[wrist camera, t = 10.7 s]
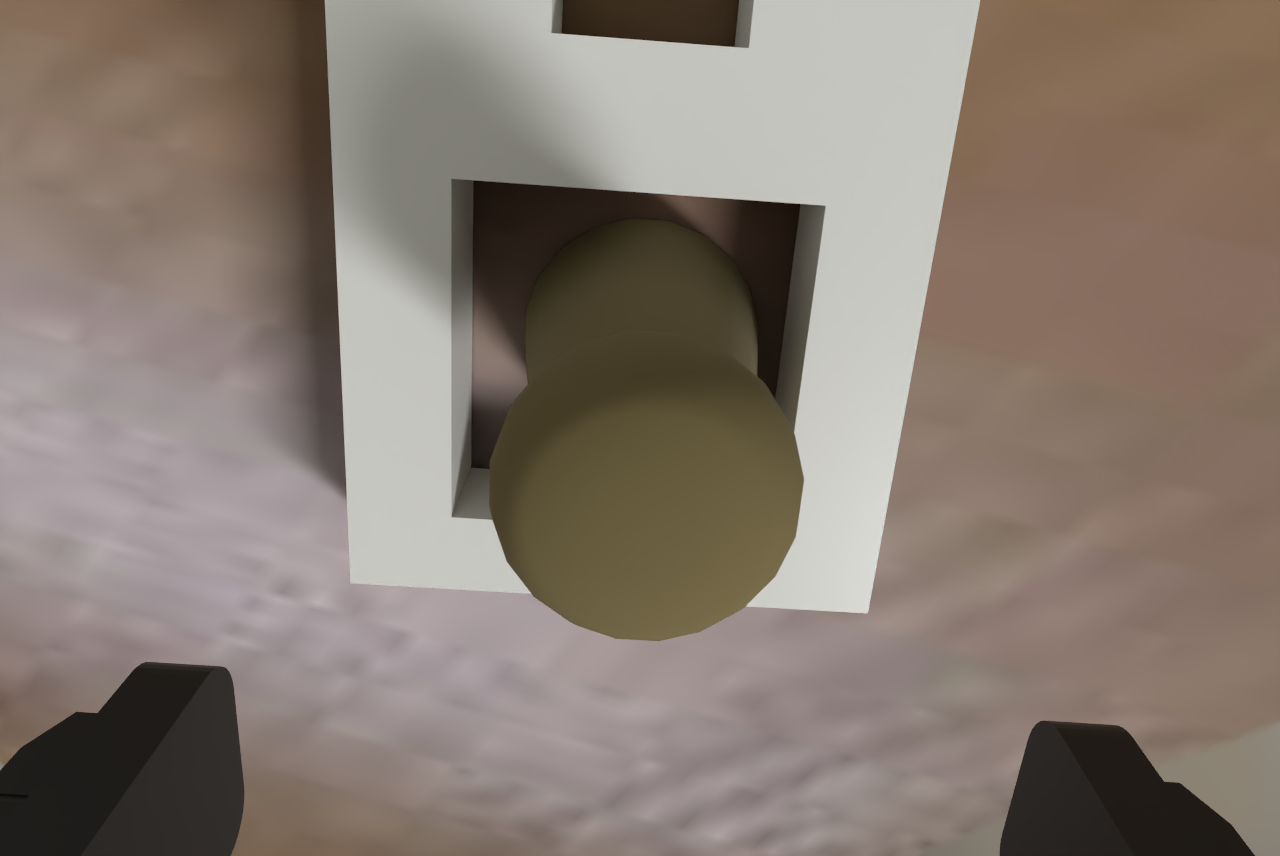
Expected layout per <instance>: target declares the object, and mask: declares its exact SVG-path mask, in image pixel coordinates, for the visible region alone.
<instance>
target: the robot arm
mask: <svg viewBox="0 0 1280 856" xmlns="http://www.w3.org/2000/svg"><path fill="white" fill-rule="evenodd" d="M243 806H244V782H243V773H242V763H241V753H240V744H239V734H238V725H237V715H236V705H235V696H234V687H233V681H232V678H231V675H230V673H229V671H228V670H227V669H226V668H225V667H221V666H205V665H189V664H173V663H157V662H145V663H142V664H140V665H139V666H138V667H136V668H135V669H134V670H133V671H132V672H131V674H130V675H129V676H128V677H127V678H126V680H125V681H124V682H123V683H122V684H121V686H120V687H119V688H118V689H117V690H116V692H115V693H114V694H113V695H112V697H111V698H110V699H109V700H108V701H107V703H106V704H105V705H104V706H103V707H102V709H101V710H100V711H99V712H98V713H85V712H76V713H74V714H73V715H71V716H69V717H68V718H66V719H65V720H63V721H62V722H60V723H59V724H57V725H55V726H54V727H52V728H51V729H49V730H48V731H46V732H45V733H43V734H42V735H40V736H38V737H37V738H35V739H34V740H32V741H31V742H29V743H28V744H26V745H24V746H23V747H21V748H20V749H19V750H18V752H17V753H16V754H15V755H14V756H13V757H12V758H11V759H10V760H9V762H8V763H7V764H6V765H5V766H4V767H3V768H2V769H1V770H0V856H231V853H232V851H233V848H234V846H235V843H236V840H237V837H238V833H239V829H240V825H241V820H242V814H243ZM1000 856H1255V855H1254V854H1253V853H1252V851H1251V850H1250V849H1249V847H1248V846H1247V845H1246V843H1245V842H1244V841H1243V839H1242V838H1241V837H1240V835H1239V834H1238V833H1237V832H1236V830H1235V829H1234V828H1233V826H1232V825H1231V824H1230V823H1229V822H1227V821H1226V820H1225V819H1224V818H1222V817H1221V816H1220V815H1219V814H1217V813H1216V812H1215V811H1214V810H1212V809H1211V808H1210V807H1209V806H1208V805H1206V804H1205V803H1204V802H1203V801H1201V800H1200V799H1199V798H1198V797H1196V796H1195V795H1194V794H1193V793H1191V792H1190V791H1189V790H1188V789H1186V788H1185V787H1184V786H1183V785H1182V784H1180V783H1173V782H1164V781H1163V780H1162V778H1161V777H1160V776H1159V774H1158V773H1157V771H1156V770H1155V768H1154V767H1153V766H1152V764H1151V763H1150V761H1149V760H1148V759H1147V757H1146V756H1145V754H1144V753H1143V752H1142V750H1141V749H1140V747H1139V746H1138V744H1137V743H1136V742H1135V740H1134V739H1133V737H1132V736H1131V735H1130V734H1129V733H1128V732H1127V731H1126V730H1125V729H1124V728H1122V727H1120V726H1116V725H1104V724H1088V723H1072V722H1056V721H1041V722H1039V723H1037V724H1036V725H1035V726H1034V728H1033V729H1032V731H1031V733H1030V736H1029V739H1028V742H1027V745H1026V749H1025V753H1024V756H1023V760H1022V764H1021V767H1020V771H1019V775H1018V778H1017V782H1016V786H1015V789H1014V793H1013V797H1012V800H1011V804H1010V808H1009V811H1008V815H1007V819H1006V822H1005V826H1004V830H1003V833H1002V838H1001V844H1000Z"/></svg>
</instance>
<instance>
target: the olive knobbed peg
mask: <svg viewBox="0 0 1280 856" xmlns="http://www.w3.org/2000/svg"><path fill="white" fill-rule="evenodd" d="M525 355H526V367H527V379H528V385H527V386H526V388H525V389H524V390H523V391H522V392H521V394H520V395H519V396H518V397H517V398H516V400H515V401H514V402H513V403H512V404H511V406H510V409H509V411H508V414H507V416H506V419H505V421H504V424H503V427H502V429H501V432H500V435H499V437H498V440H497V443H496V445H495V448H494V451H493V453H492V456H491V459H490V479H489V507H490V512H491V516H492V520H493V523H494V526H495V529H496V532H497V535H498V538H499V541H500V544H501V546H502V549H503V552H504V555H505V558H506V561H507V563H508V564H509V565H510V567H511V568H512V569H513V570H514V572H515V573H516V574H517V576H518V577H519V578H520V579H521V581H522V582H523V583H524V585H525V586H526V587H527V589H528V590H529V591H530V592H531V594H532V595H533V596H534V597H535V598H537V599H538V600H539V601H541V602H542V603H544V604H545V605H547V606H548V607H549V608H551V609H552V610H554V611H555V612H557V613H558V614H559V615H561V616H562V617H564V618H565V619H567V620H568V621H570V622H571V623H573V624H575V625H577V626H580V627H583V628H586V629H589V630H592V631H595V632H598V633H601V634H604V635H607V636H610V637H613V638H616V639H631V640H650V641H661V640H665V639H670V638H674V637H679V636H684V635H688V634H693V633H697V632H701V631H702V630H704V629H706V628H708V627H710V626H712V625H714V624H716V623H717V622H719V621H721V620H723V619H725V618H727V617H729V616H730V615H732V614H734V613H736V612H738V611H740V610H741V609H743V608H744V607H745V606H746V605H747V604H748V603H749V602H750V601H751V600H752V599H753V598H754V597H755V596H756V595H757V594H758V593H759V592H760V591H761V590H762V589H763V588H764V587H765V586H766V585H768V584H769V583H770V582H771V581H772V580H773V579H774V578H775V576H776V575H777V573H778V571H779V569H780V567H781V565H782V563H783V561H784V559H785V557H786V555H787V553H788V551H789V549H790V547H791V545H792V544H793V542H794V540H795V538H796V532H797V526H798V519H799V512H800V505H801V498H802V491H803V484H804V476H803V471H802V467H801V462H800V457H799V452H798V447H797V442H796V438H795V434H794V432H793V430H792V428H791V426H790V424H789V422H788V420H787V418H786V417H785V415H784V413H783V412H782V410H781V408H780V407H779V405H778V404H777V402H776V400H775V399H774V397H773V395H772V394H771V392H770V390H769V389H768V387H767V386H766V384H765V383H764V382H763V381H762V380H761V379H760V378H758V377H757V359H758V323H757V318H756V313H755V309H754V304H753V299H752V295H751V290H750V289H749V287H748V285H747V284H746V282H745V280H744V279H743V277H742V275H741V274H740V272H739V270H738V269H737V267H736V265H735V264H734V262H733V260H732V259H731V258H730V257H729V256H728V255H726V254H725V253H724V252H723V251H722V250H721V249H719V248H718V247H717V246H716V245H715V244H714V243H712V242H711V241H710V240H709V239H708V238H707V237H705V236H704V235H702V234H700V233H697V232H695V231H693V230H690V229H688V228H685V227H683V226H680V225H678V224H675V223H673V222H670V221H666V220H651V219H636V218H629V219H625V220H621V221H617V222H613V223H609V224H605V225H601V226H597V227H594V228H592V229H590V230H589V231H587V232H586V233H584V234H582V235H581V236H579V237H578V238H576V239H575V240H573V241H572V242H570V243H568V244H567V245H565V246H564V247H562V248H561V249H560V250H559V252H558V253H557V254H556V255H555V257H554V258H553V259H552V260H551V262H550V263H549V264H548V265H547V267H546V268H545V269H544V270H543V271H542V273H541V274H540V275H539V276H538V279H537V281H536V284H535V287H534V290H533V292H532V295H531V298H530V301H529V303H528V306H527V309H526V319H525Z"/></svg>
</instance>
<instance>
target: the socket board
mask: <svg viewBox="0 0 1280 856" xmlns="http://www.w3.org/2000/svg"><path fill="white" fill-rule="evenodd" d="M979 4H980V0H739V6H738V16H737V26H736V37H735V47H726V46H713V45H700V44H687V43H674V42H661V41H648V40H635V39H623V38H610V37H597V36H584V35H571V34H562V13H563V0H325V17H326V40H327V62H328V85H329V107H330V130H331V152H332V175H333V197H334V220H335V242H336V265H337V287H338V310H339V332H340V355H341V377H342V400H343V422H344V445H345V467H346V490H347V512H348V535H349V557H350V580H351V583H356V584H373V585H390V586H407V587H424V588H441V589H459V590H476V591H493V592H510V593H527V594H531V592H530V591H529V590H528V589H527V587H526V586H525V585H524V583H523V582H522V581H521V579H520V578H519V577H518V576H517V574H516V573H515V572H514V570H513V569H512V568H511V567H510V565H509V564H508V563H507V561H506V558H505V555H504V552H503V549H502V546H501V544H500V541H499V538H498V535H497V532H496V529H495V526H494V523H493V520H492V516H491V512H490V507H489V479H490V469H485V468H471V425H472V295H473V180H476V181H490V182H504V183H517V184H531V185H545V186H559V187H573V188H587V189H601V190H615V191H628V192H642V193H656V194H670V195H684V196H698V197H712V198H726V199H739V200H753V201H767V202H781V203H795V204H800V212H799V219H798V227H797V235H796V242H795V250H794V258H793V265H792V273H791V281H790V288H789V296H788V304H787V311H786V319H785V327H784V335H783V342H782V350H781V358H780V365H779V373H778V381H777V388H776V396H775V400H776V402H777V404H778V405H779V407H780V408H781V410H782V412H783V413H784V415H785V417H786V418H787V420H788V422H789V424H790V426H791V428H792V430H793V432H794V434H795V438H796V442H797V447H798V452H799V457H800V462H801V467H802V471H803V476H804V484H803V491H802V498H801V505H800V512H799V519H798V526H797V532H796V538H795V540H794V542H793V544H792V545H791V547H790V549H789V551H788V553H787V555H786V557H785V559H784V561H783V563H782V565H781V567H780V569H779V571H778V573H777V575H776V576H775V578H774V579H773V580H772V581H771V582H770V583H769V584H768V585H766V586H765V587H764V588H763V589H762V590H761V591H760V592H759V593H758V594H757V595H756V596H755V597H754V598H753V599H752V600H751V601H750V602H749V603H748V604H747V605H746V606H750V607H767V608H785V609H802V610H819V611H836V612H853V613H868V609H869V604H870V598H871V593H872V587H873V582H874V576H875V571H876V565H877V560H878V555H879V549H880V544H881V538H882V533H883V527H884V522H885V516H886V511H887V505H888V500H889V495H890V489H891V484H892V478H893V473H894V467H895V462H896V456H897V451H898V446H899V440H900V435H901V429H902V424H903V418H904V413H905V407H906V402H907V396H908V391H909V386H910V380H911V375H912V369H913V364H914V358H915V353H916V347H917V342H918V336H919V331H920V326H921V320H922V315H923V309H924V304H925V298H926V293H927V287H928V282H929V277H930V271H931V266H932V260H933V255H934V249H935V244H936V238H937V233H938V227H939V222H940V217H941V211H942V206H943V200H944V195H945V189H946V184H947V178H948V173H949V168H950V162H951V157H952V151H953V146H954V140H955V135H956V129H957V124H958V118H959V113H960V108H961V102H962V97H963V91H964V86H965V80H966V75H967V69H968V64H969V59H970V53H971V48H972V42H973V37H974V31H975V26H976V20H977V15H978V9H979Z"/></svg>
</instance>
